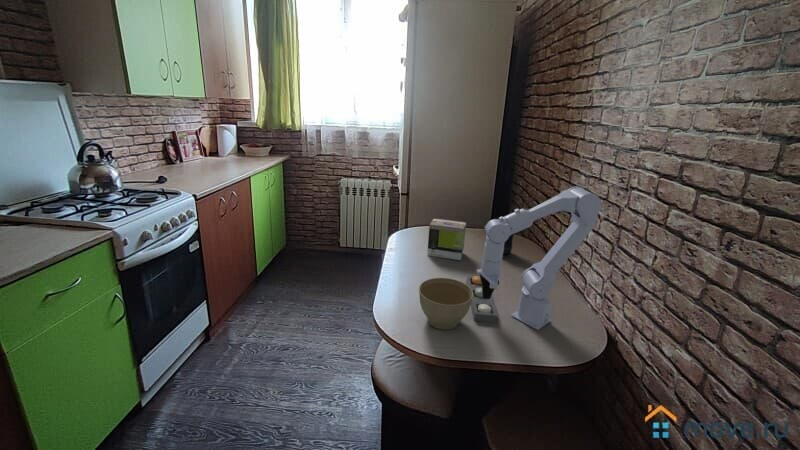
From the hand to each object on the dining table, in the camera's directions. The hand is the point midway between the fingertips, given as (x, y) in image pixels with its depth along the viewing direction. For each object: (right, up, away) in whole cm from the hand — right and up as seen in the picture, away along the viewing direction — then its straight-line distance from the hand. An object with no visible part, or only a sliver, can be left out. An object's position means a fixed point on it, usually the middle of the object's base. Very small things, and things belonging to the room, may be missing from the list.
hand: (486, 297), depth 114 cm
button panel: (0, -3, +10) cm, 11 cm away
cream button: (0, -5, +2) cm, 6 cm away
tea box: (-7, +10, +47) cm, 48 cm away
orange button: (+1, +2, +18) cm, 18 cm away
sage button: (0, -1, +10) cm, 10 cm away
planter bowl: (-14, -7, -2) cm, 16 cm away
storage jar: (+19, +10, +52) cm, 56 cm away
